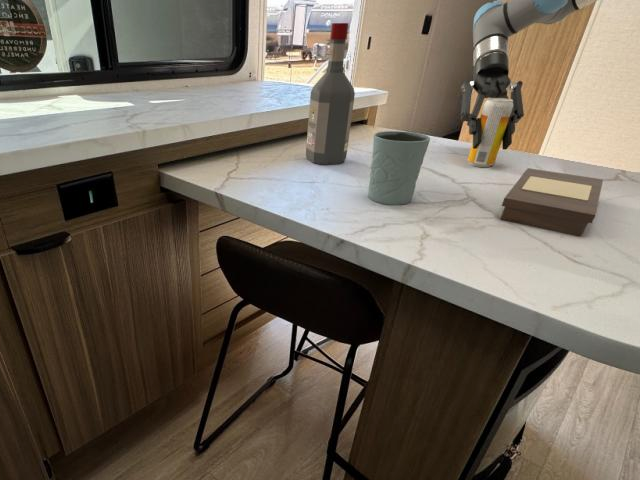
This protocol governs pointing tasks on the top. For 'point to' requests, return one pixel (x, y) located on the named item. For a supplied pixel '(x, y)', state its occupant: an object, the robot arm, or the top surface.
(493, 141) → the beer can
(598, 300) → the top surface
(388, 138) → the green embossed cup
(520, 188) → the brown lidded keepsake box
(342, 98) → the liquor
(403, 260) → the top surface
